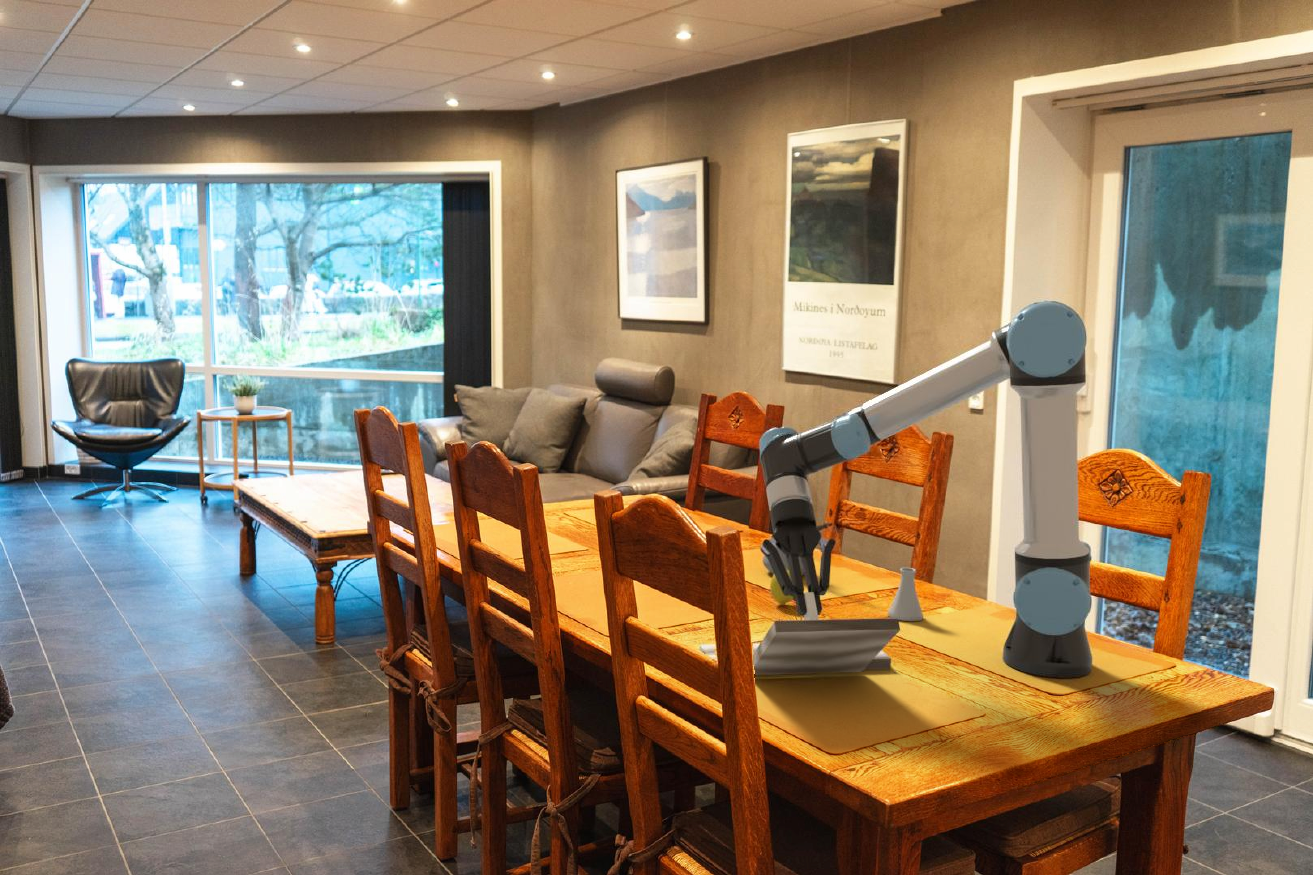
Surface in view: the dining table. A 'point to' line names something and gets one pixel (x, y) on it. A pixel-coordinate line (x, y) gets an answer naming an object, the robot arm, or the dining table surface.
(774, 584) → the lemon
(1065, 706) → the dining table surface
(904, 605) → the flask
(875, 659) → the board
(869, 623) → the panel
